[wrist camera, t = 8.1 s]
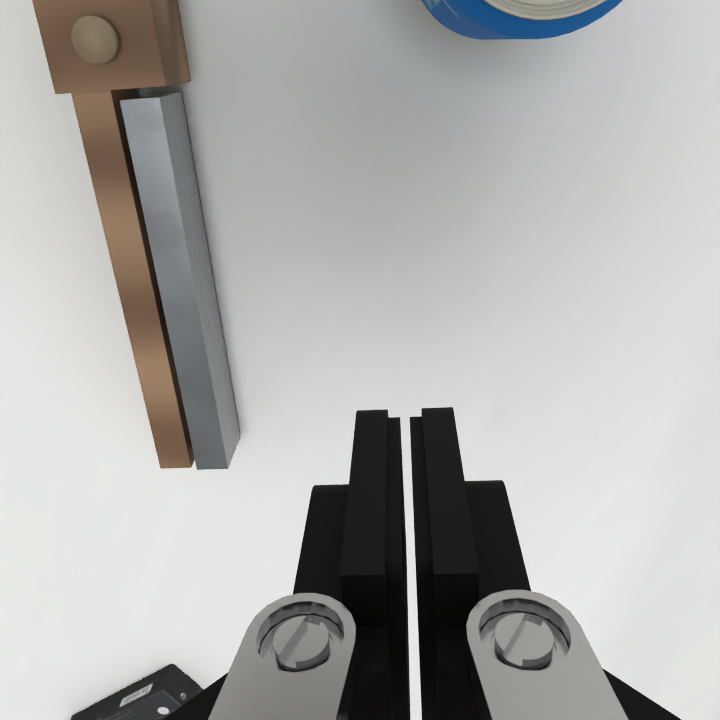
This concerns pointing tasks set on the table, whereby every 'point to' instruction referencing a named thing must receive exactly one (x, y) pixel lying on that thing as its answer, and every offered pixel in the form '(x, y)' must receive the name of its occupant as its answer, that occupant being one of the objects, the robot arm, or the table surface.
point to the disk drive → (145, 698)
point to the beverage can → (517, 16)
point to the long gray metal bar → (183, 271)
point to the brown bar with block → (124, 169)
